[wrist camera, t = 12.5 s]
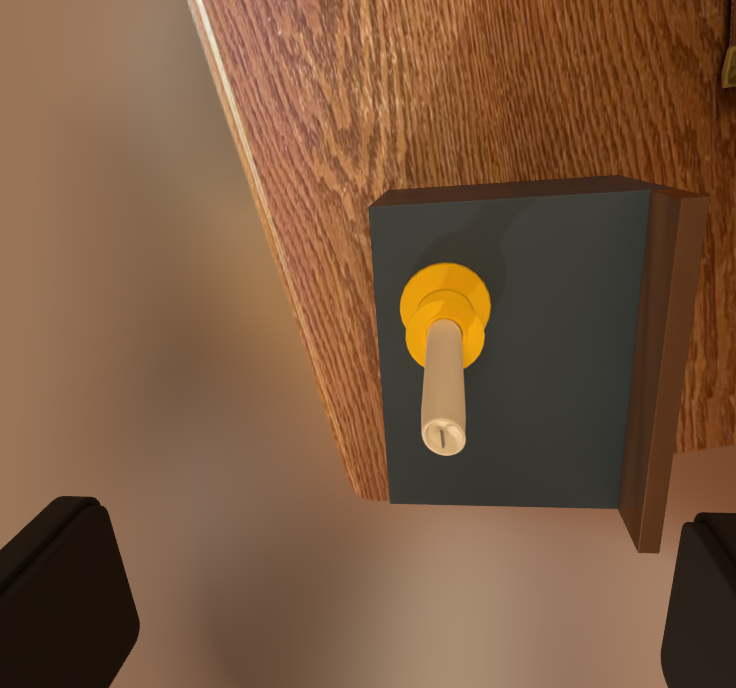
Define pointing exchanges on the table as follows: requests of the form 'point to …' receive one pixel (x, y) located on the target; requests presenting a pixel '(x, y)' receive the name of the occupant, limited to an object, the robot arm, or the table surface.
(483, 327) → the candle
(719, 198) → the table surface
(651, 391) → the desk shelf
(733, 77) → the book
